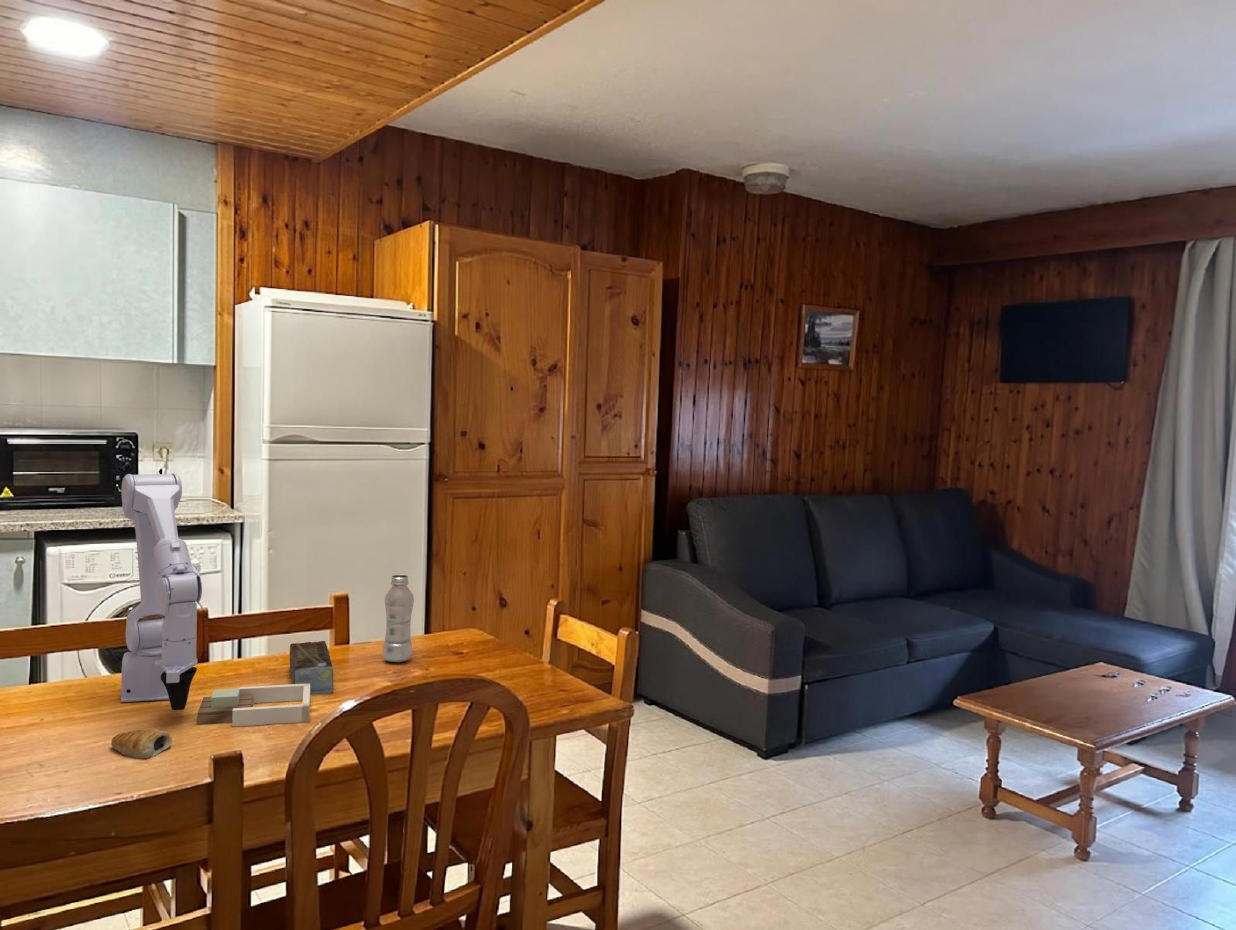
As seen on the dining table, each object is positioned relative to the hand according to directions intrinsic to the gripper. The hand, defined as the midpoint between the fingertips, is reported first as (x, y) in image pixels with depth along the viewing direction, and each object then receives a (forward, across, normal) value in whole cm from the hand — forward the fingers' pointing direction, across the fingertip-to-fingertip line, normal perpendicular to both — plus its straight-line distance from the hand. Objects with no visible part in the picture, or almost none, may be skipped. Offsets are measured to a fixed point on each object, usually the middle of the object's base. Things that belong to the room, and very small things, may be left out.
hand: (178, 709), depth 165 cm
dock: (+2, 0, +16) cm, 16 cm away
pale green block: (-1, 0, +8) cm, 8 cm away
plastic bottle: (+2, -29, +42) cm, 51 cm away
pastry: (+2, +15, -4) cm, 16 cm away
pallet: (+2, 0, +8) cm, 8 cm away
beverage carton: (+2, -18, +23) cm, 29 cm away
